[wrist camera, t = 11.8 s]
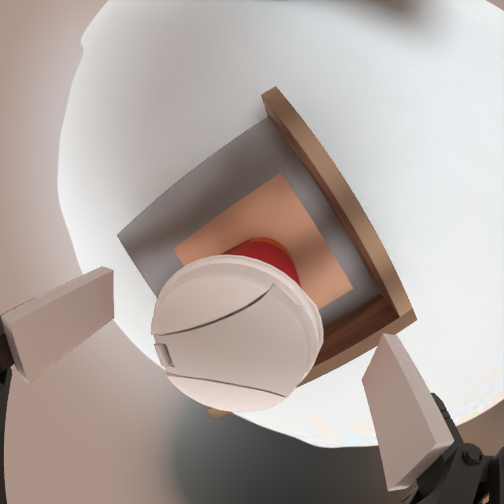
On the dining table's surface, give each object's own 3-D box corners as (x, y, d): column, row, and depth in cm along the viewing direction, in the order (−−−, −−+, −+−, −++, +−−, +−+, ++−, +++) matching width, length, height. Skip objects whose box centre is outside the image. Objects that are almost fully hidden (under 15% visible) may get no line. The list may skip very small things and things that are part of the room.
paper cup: (228, 313, 25) (171, 416, 12) (211, 232, 24) (119, 275, 10) (312, 302, 24) (329, 413, 10) (300, 217, 23) (316, 246, 9)
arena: (120, 234, 26) (83, 244, 20) (279, 111, 22) (275, 86, 16) (227, 382, 28) (214, 418, 22) (393, 294, 23) (417, 319, 18)
